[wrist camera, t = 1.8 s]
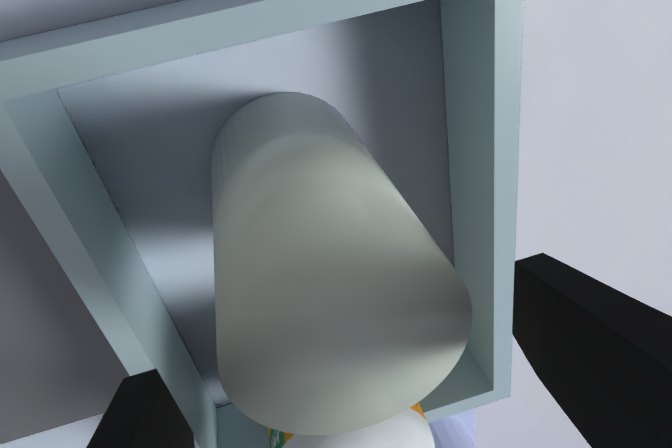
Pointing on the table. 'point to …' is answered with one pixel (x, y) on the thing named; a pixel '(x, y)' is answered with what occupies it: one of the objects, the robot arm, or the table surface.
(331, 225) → the pale tapered cylinder
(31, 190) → the tray
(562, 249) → the table surface
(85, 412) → the coaster
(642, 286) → the table surface
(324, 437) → the supplement bottle
